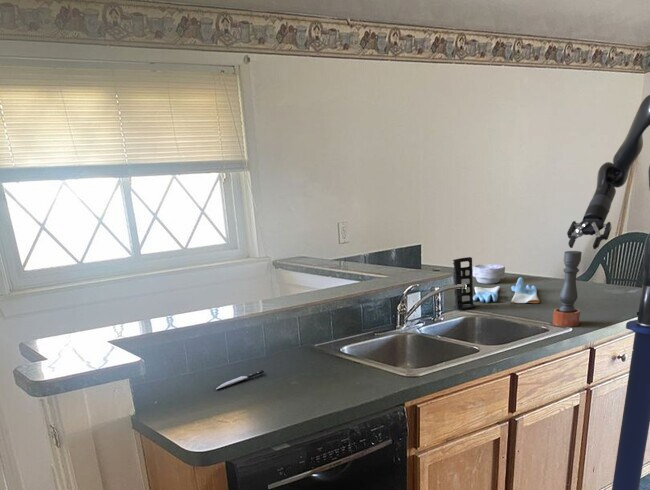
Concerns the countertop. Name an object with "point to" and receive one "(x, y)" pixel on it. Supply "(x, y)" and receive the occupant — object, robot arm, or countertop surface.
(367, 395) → the countertop surface
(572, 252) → the candle holder
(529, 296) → the rubber gloves
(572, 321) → the holder cup
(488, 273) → the paper bowls
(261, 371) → the chef's knife
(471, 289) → the holder
